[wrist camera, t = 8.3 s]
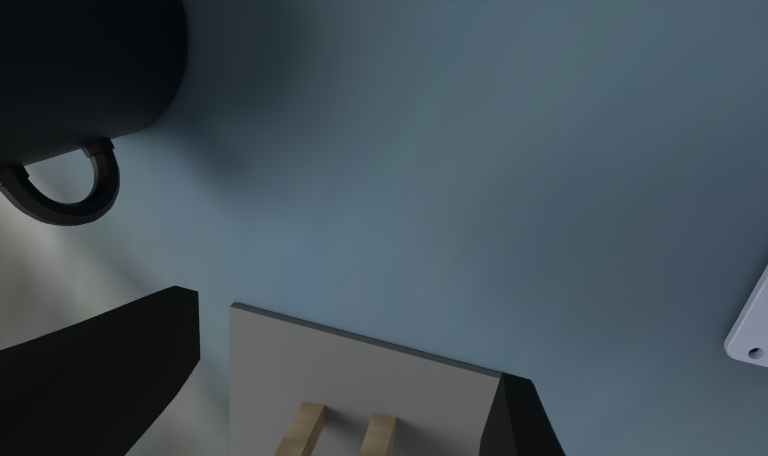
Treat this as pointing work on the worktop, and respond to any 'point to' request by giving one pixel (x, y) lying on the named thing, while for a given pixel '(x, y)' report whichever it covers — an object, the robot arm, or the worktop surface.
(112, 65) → the mug
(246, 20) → the worktop surface
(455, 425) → the mat
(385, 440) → the stool
